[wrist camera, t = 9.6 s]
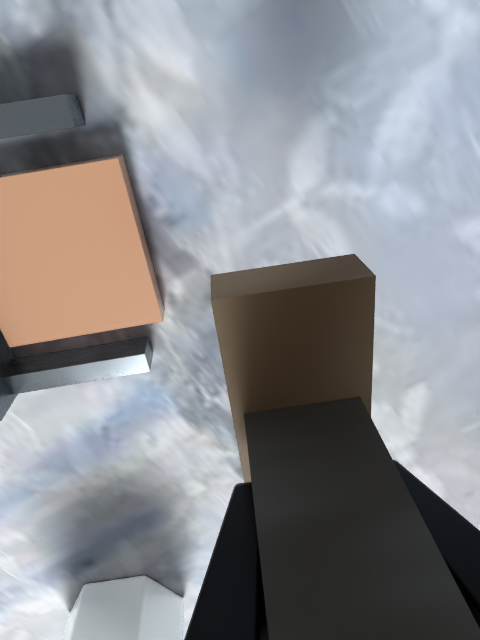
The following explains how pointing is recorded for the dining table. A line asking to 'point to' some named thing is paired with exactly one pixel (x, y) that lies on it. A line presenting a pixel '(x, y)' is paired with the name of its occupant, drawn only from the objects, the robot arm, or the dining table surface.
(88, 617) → the jar
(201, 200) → the dining table surface
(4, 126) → the grey u-shaped frame
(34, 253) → the tile
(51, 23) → the dining table surface
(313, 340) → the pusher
